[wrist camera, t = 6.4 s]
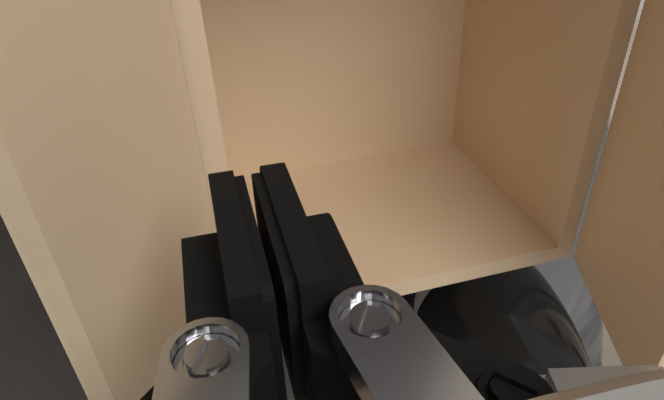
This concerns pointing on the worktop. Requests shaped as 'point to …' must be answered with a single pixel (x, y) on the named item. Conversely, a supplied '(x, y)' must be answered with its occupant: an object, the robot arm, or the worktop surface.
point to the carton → (413, 120)
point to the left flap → (101, 178)
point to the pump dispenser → (506, 319)
